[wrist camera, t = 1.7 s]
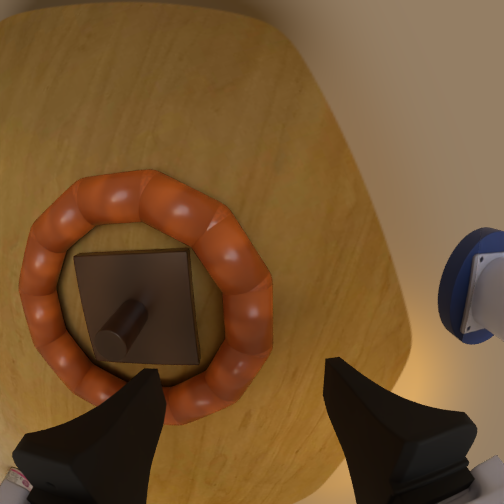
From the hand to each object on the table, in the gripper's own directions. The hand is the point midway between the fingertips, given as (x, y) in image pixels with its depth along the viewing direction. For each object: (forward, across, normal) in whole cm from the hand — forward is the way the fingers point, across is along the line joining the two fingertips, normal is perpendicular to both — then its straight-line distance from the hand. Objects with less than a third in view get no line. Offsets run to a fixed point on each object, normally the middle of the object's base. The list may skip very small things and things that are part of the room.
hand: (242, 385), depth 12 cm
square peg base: (+8, +7, 0) cm, 11 cm away
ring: (+7, +7, 0) cm, 10 cm away
